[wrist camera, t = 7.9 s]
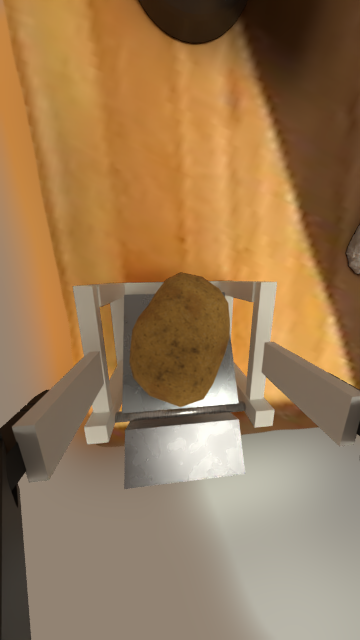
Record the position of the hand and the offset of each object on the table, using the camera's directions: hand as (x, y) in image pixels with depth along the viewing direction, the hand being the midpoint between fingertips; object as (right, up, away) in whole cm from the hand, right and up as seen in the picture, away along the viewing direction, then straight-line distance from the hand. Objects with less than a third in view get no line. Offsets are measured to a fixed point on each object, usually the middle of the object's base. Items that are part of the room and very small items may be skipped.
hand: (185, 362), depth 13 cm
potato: (-1, +1, +7) cm, 7 cm away
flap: (-1, -4, +9) cm, 10 cm away
